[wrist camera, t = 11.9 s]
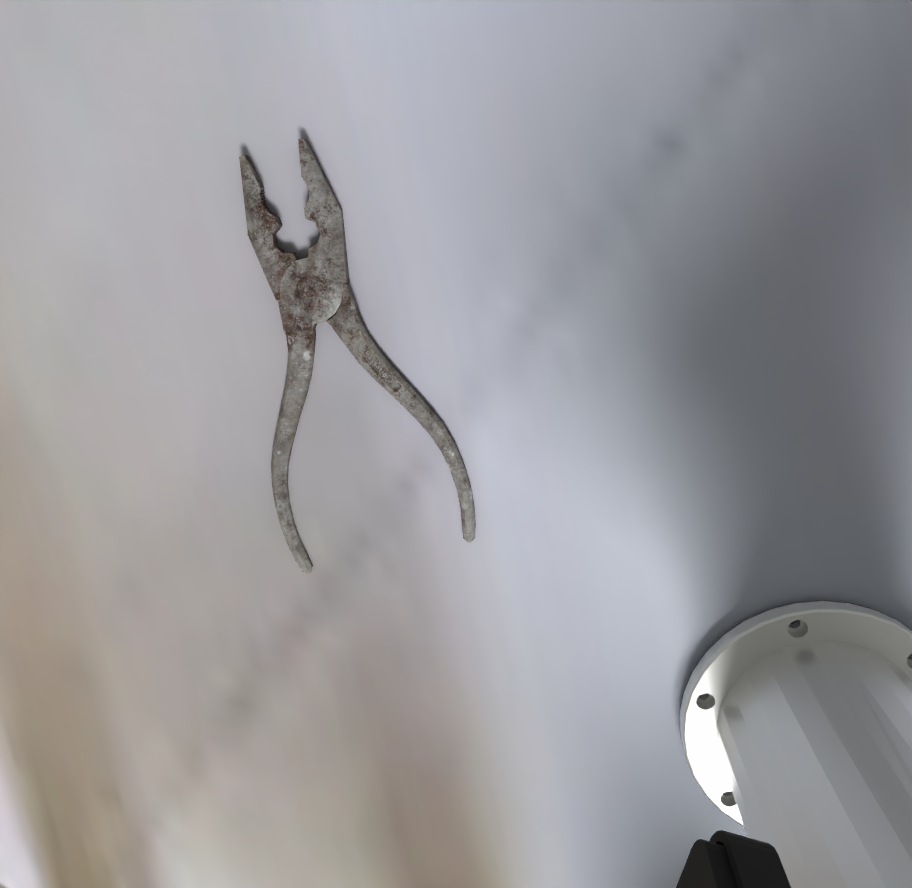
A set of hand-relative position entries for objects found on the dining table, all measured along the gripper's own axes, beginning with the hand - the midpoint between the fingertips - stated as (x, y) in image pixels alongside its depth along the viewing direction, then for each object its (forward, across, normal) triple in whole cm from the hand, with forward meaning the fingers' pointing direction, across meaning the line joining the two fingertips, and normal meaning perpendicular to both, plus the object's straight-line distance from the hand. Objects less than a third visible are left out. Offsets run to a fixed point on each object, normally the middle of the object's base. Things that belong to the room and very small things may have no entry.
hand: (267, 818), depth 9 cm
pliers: (+29, +7, +2) cm, 30 cm away
